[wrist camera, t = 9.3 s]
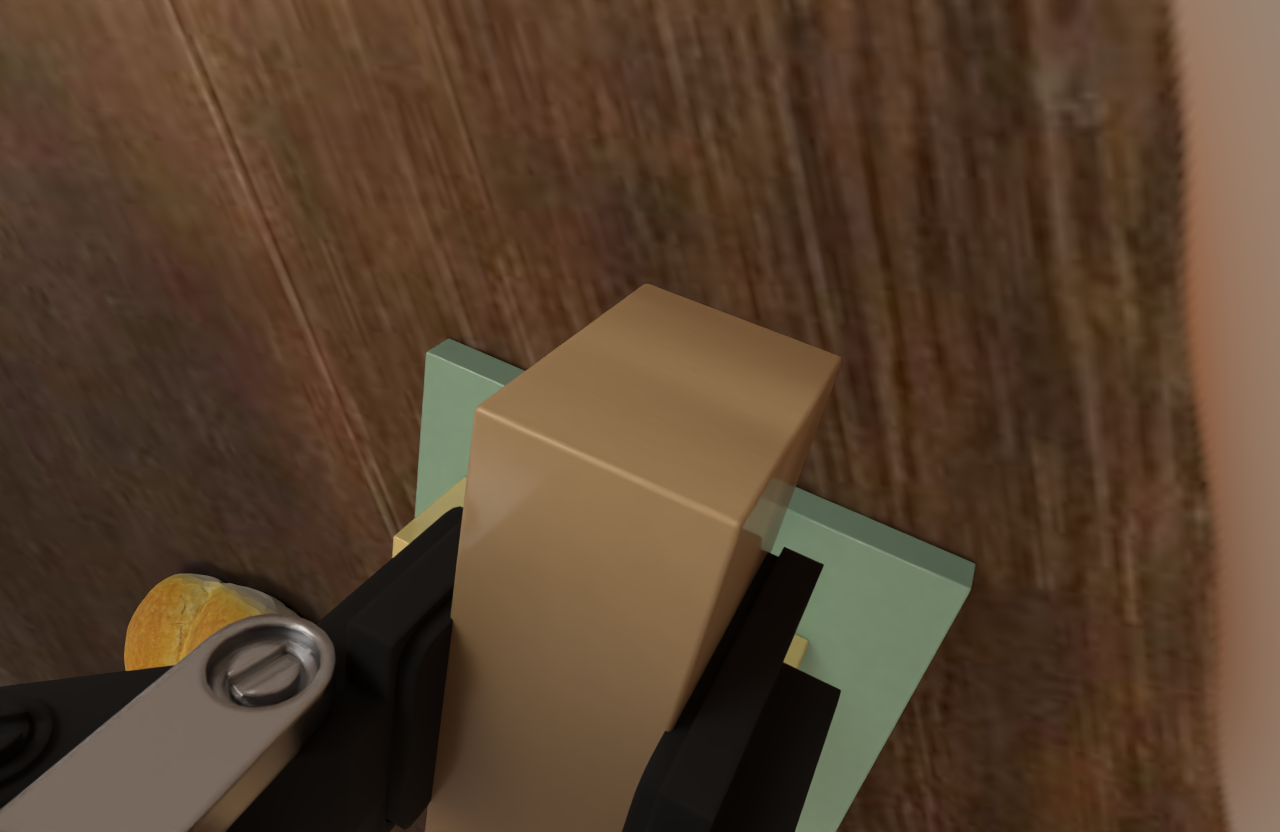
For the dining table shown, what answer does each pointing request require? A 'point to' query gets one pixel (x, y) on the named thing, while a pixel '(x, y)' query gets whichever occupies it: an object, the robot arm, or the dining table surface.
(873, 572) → the butter dish
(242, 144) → the dining table surface
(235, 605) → the bread roll
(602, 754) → the wooden handled knife
